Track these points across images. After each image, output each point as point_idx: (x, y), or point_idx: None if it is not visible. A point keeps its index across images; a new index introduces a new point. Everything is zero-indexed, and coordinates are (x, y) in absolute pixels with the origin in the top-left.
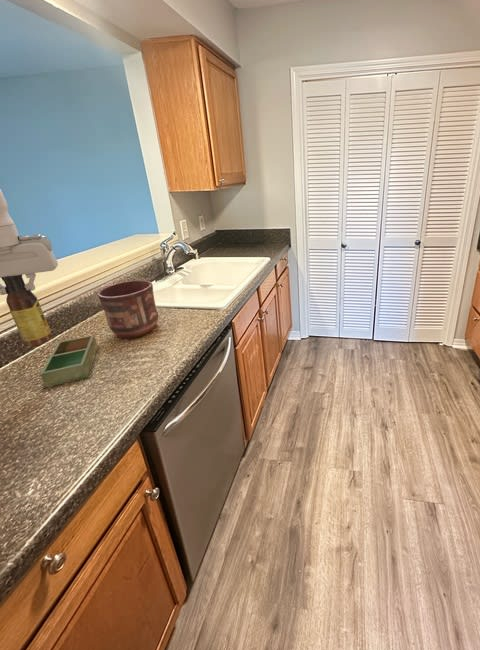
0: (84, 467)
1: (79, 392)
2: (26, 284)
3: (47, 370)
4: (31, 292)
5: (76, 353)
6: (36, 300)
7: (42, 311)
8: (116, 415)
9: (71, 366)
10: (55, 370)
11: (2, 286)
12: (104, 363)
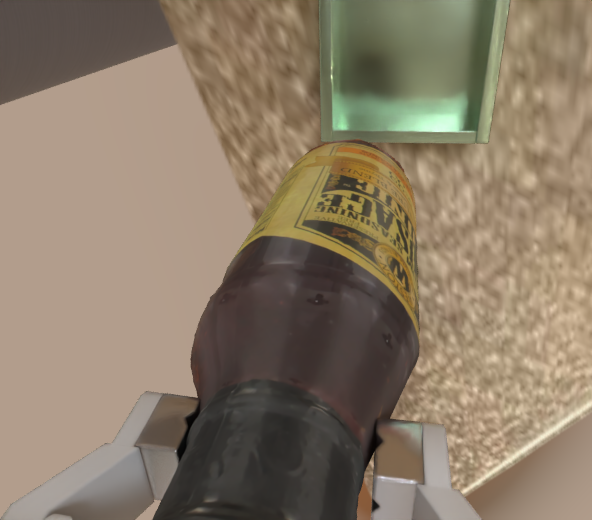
0: (478, 471)
1: (452, 212)
2: (388, 517)
3: (334, 92)
4: (392, 389)
5: None
6: (416, 361)
7: (416, 267)
8: (556, 371)
9: (440, 139)
10: (377, 141)
11: (138, 463)
12: (553, 14)
